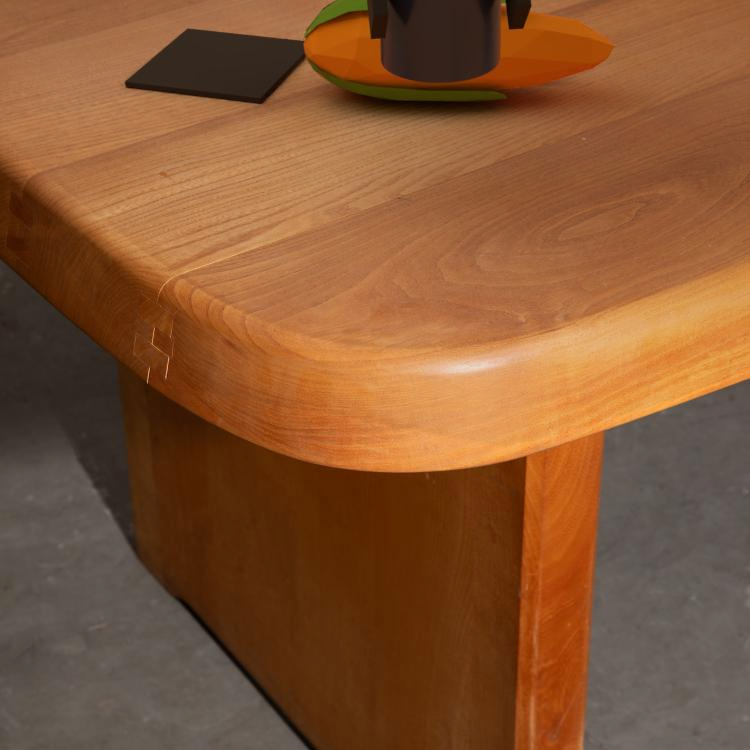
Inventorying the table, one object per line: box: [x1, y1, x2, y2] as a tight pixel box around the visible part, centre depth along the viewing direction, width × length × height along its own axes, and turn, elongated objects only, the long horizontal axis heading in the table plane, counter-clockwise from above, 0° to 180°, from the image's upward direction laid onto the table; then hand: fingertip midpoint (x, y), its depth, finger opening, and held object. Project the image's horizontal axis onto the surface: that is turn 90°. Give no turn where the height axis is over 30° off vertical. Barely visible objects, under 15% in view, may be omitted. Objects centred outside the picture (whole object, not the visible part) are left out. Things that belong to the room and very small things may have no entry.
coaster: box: [124, 27, 306, 104], centre depth 101 cm, size 10×10×1 cm
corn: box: [303, 0, 615, 102], centre depth 94 cm, size 7×8×20 cm
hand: (450, 22), depth 73 cm, fingers closed on tin, 6 cm apart
